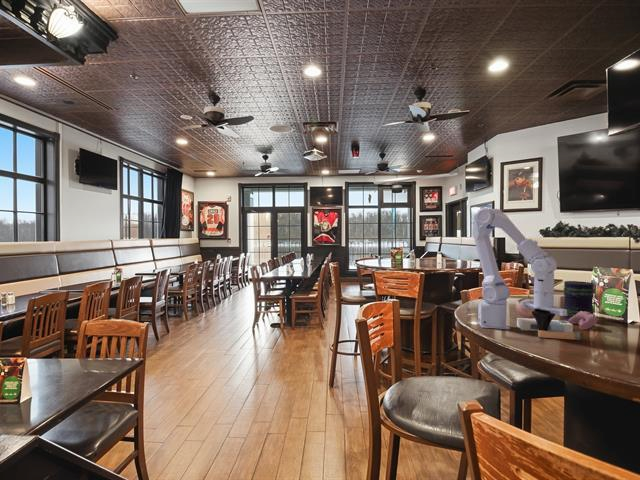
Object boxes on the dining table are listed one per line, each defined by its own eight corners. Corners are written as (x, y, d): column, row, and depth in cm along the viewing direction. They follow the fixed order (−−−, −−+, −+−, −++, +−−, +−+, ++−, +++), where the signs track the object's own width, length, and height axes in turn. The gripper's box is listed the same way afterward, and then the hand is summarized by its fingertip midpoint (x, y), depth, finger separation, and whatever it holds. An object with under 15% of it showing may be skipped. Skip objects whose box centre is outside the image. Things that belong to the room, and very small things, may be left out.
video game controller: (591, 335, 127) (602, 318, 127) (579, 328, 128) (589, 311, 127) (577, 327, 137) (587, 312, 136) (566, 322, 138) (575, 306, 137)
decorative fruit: (530, 316, 148) (531, 292, 148) (545, 321, 140) (546, 296, 140) (510, 317, 147) (510, 293, 146) (524, 322, 138) (524, 296, 138)
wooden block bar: (539, 337, 118) (539, 330, 118) (537, 335, 119) (537, 328, 119) (581, 340, 115) (581, 332, 115) (578, 338, 116) (578, 331, 116)
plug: (548, 337, 119) (549, 325, 119) (541, 331, 126) (541, 320, 125) (565, 338, 118) (566, 326, 117) (557, 332, 124) (557, 321, 124)
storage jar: (585, 323, 137) (586, 285, 137) (558, 318, 146) (558, 281, 145) (598, 320, 142) (598, 283, 142) (570, 315, 151) (571, 280, 150)
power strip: (521, 330, 127) (522, 320, 127) (516, 325, 133) (517, 316, 133) (573, 333, 123) (573, 323, 123) (565, 328, 129) (565, 319, 129)
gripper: (516, 289, 125) (515, 328, 125) (555, 296, 111) (555, 339, 111) (531, 288, 127) (530, 326, 128) (571, 295, 114) (571, 337, 114)
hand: (543, 332), depth 120 cm, fingers closed
